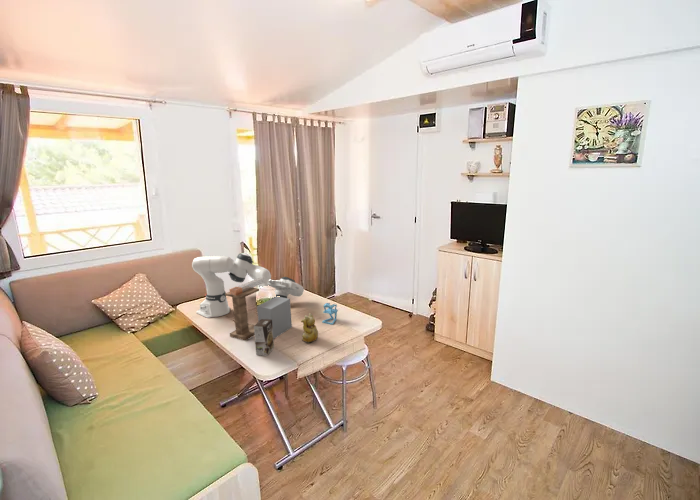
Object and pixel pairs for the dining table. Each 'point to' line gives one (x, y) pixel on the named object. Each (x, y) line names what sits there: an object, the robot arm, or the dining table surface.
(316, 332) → the decorative figurine
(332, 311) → the blue strut sculpture
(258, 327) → the coffee box
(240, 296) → the walnut shelf
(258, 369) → the dining table surface
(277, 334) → the block
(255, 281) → the light slender bar
